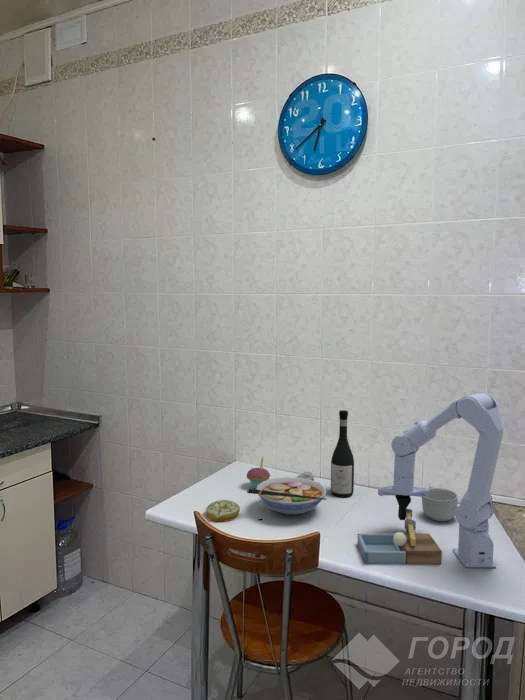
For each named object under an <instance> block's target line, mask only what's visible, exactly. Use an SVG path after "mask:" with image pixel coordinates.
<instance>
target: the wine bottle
mask: <svg viewBox="0 0 525 700" xmlns="http://www.w3.org/2000/svg"><path fill="white" fill-rule="evenodd" d="M338 413H339V414H338V416H339V433H338V435H339V436H338V440H337V444H336V446H335V447H334V450H333V453H332V456H331V461H330V492H331V494H332V495H334V496H336V497H341V498H347V497H350V496H352V495H353V494H354V491H355V490H354V486H355V485H354V483H355V478H354V477H355V460H354V455H353V452H352V449H351V445H350V443H349V440H348V439H349V438H348V416H349V411H348V410H339V412H338Z"/></svg>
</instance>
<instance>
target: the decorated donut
mask: <svg viewBox="0 0 525 700" xmlns="http://www.w3.org/2000/svg"><path fill="white" fill-rule="evenodd" d="M240 510H241V509H240V505H239V504H238V503H236V502H235V501H233V500H229V499H219V500H216V501H213V502H211V503H210V504H208V505H207V506H206V507H205V513H206V516H207V518H208V519H209V520H210V519H211V520H210V521H213V520H215V521H214V522H226V521H225V520H228V521H231V520H234V519H236V518H235V517H238V515H239V514H240Z"/></svg>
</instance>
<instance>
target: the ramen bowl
mask: <svg viewBox="0 0 525 700" xmlns="http://www.w3.org/2000/svg"><path fill="white" fill-rule="evenodd" d="M246 493H247V494H253V495H258V497H259V498H260V499H261V501H263V502H262V503H264V504H265V506H267V507H268V509H271V510H272V511H274V512H277V513H281V514H283V515H286V514H287V515H288V516H296V515H300V514H305V513H308V512H310V511H312V510H313V509H315V508H316V507H317V506H318V505H319V504H320V503H321V502H322V501H323V500H324V501H326V500H327V498H325V496H326V494H327V490H326V486H324V485H323V484H321V483H320V482H319V481H315V480H314V481H313V480H310V479H304V478H298V477H297V476H296V477H295V476H293V477H292V476H291V477H289V476H283V477H275V478H269V479H268V480H266V481H263V482H262V483H260V484H259V485H257V489H254V488H248V490H247V492H246Z"/></svg>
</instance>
